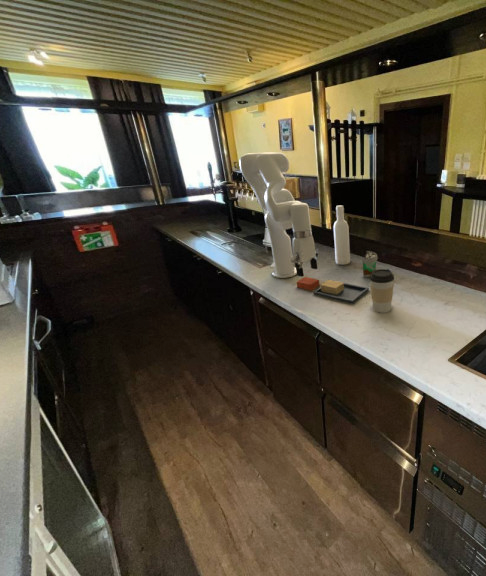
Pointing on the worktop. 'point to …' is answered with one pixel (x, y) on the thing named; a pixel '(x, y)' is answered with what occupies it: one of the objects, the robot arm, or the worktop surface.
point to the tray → (345, 293)
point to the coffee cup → (382, 289)
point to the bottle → (341, 238)
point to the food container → (369, 263)
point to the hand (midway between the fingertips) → (307, 272)
